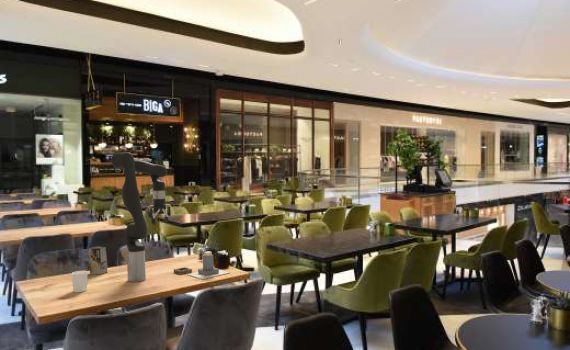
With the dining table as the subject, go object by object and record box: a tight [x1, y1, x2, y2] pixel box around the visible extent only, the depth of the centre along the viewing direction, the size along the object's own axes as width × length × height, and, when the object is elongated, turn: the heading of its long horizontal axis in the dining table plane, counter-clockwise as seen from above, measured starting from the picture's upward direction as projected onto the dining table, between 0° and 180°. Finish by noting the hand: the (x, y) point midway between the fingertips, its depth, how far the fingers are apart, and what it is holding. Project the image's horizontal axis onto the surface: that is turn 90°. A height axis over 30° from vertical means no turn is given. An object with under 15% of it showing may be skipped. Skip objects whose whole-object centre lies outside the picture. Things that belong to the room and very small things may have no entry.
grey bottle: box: [202, 251, 215, 271], centre depth 284 cm, size 4×4×13 cm
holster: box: [173, 266, 193, 275], centre depth 290 cm, size 8×8×2 cm
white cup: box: [71, 270, 88, 293], centre depth 253 cm, size 8×8×10 cm
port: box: [186, 267, 231, 280], centre depth 284 cm, size 20×16×3 cm
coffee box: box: [88, 246, 108, 275], centre depth 294 cm, size 9×6×16 cm
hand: (160, 223), depth 292 cm, fingers open, 8 cm apart
